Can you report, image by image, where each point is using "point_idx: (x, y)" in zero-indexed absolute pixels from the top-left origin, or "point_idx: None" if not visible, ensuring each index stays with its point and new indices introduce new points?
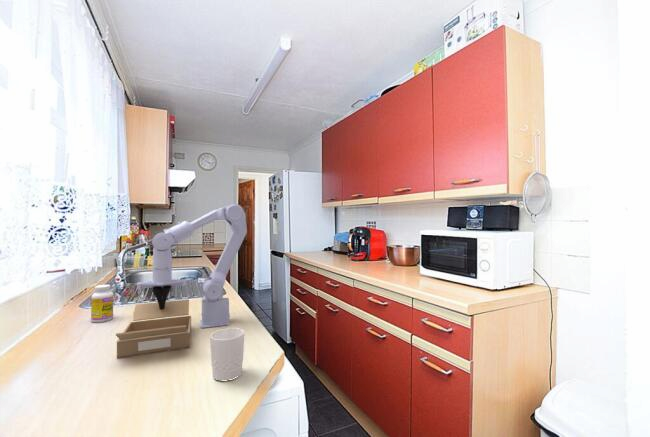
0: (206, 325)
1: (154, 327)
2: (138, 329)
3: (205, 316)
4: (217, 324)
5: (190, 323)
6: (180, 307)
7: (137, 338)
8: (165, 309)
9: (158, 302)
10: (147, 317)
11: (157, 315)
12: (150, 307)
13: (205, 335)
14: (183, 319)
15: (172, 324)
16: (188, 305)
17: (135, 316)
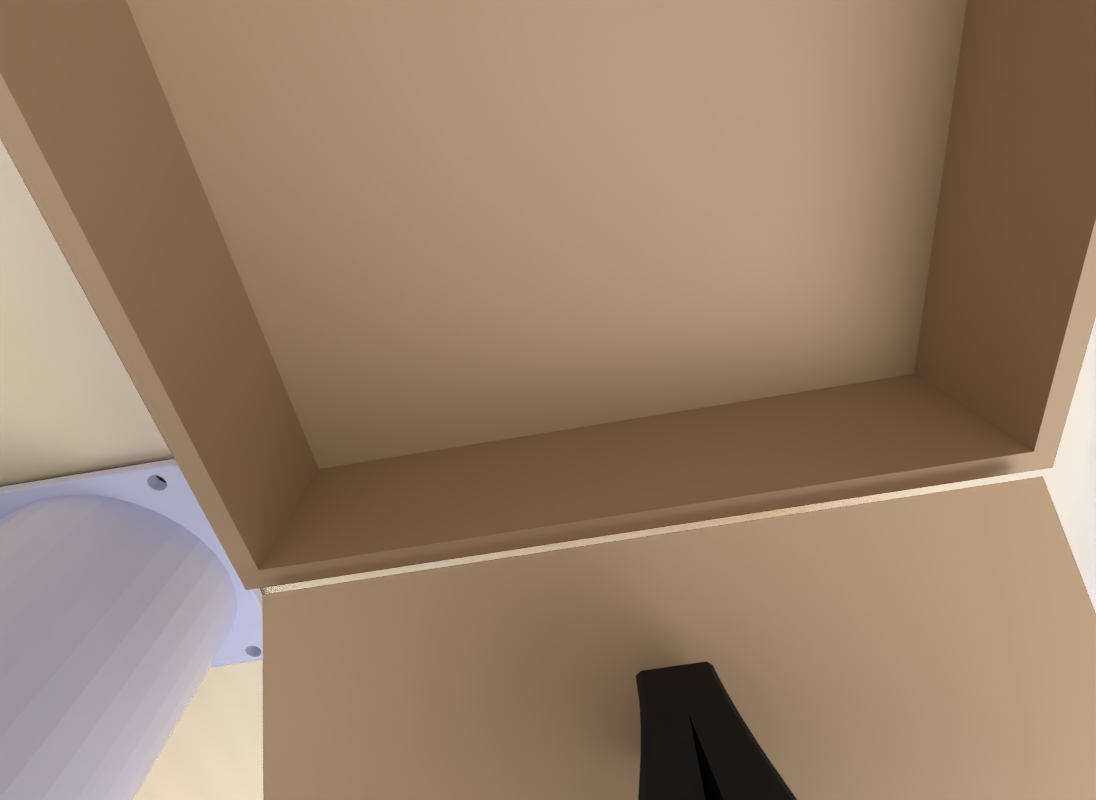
0: (132, 500)
1: (698, 440)
2: (877, 412)
3: (76, 588)
4: (5, 508)
5: (63, 233)
6: (391, 734)
7: (842, 251)
8: (620, 690)
9: (784, 793)
10: (848, 530)
11: (711, 568)
12: (879, 736)
13: (6, 213)
14: (351, 531)
15: (493, 478)
16: (268, 779)
17: (1039, 545)
